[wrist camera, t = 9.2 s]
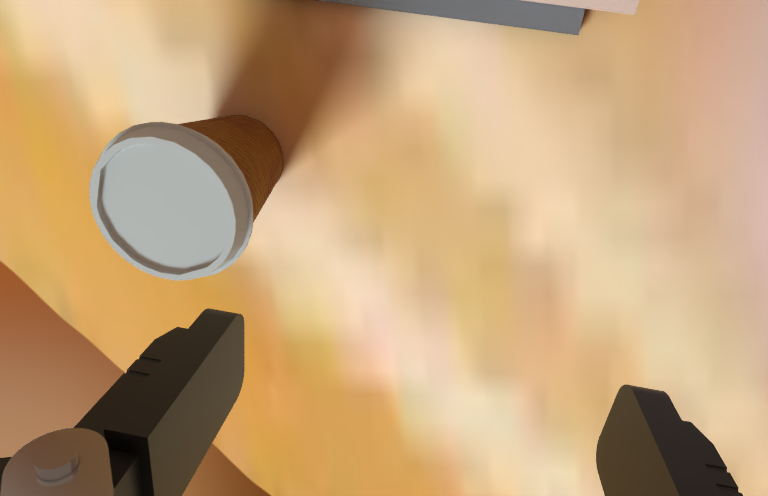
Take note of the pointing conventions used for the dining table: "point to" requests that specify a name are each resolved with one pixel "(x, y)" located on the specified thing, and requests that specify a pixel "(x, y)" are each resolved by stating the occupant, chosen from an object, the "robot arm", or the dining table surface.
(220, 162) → the disposable coffee cup
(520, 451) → the dining table surface
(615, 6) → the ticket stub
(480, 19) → the ticket base
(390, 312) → the dining table surface
